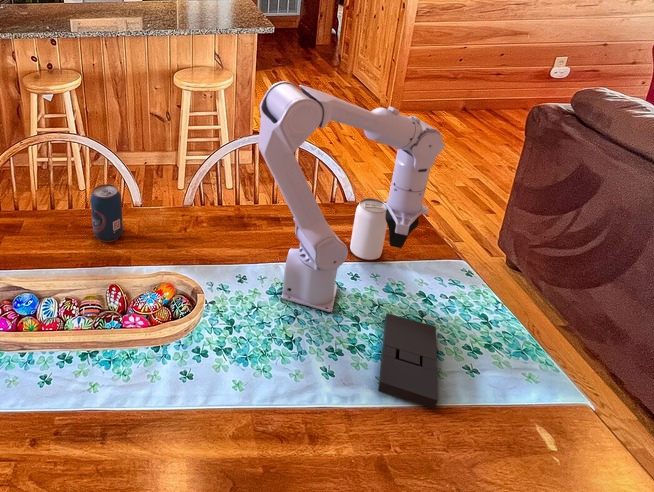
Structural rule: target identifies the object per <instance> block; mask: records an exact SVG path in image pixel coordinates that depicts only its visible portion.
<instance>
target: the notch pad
mask: <svg viewBox="0 0 654 492" xmlns="http://www.w3.org/2000/svg"><path fill="white" fill-rule="evenodd" d="M382 347H383V349H381V355H380V364H379V366H380V367H379V376H378V377H379V378H378V388H377V391H378V392H381V393H383V394H387V395H390V396H393V397H396V398H399V399H403V400H405V401H408V402H411V403H414V404H417V405H419V406H423V407H426V408H429V409H432V410H436V408H437V404H438V401H439V397H438V394H439V393H438V364H437V363H438V362H437V361H438V360H437V361H436V360H433V359H429V358H426V357H423V358H422V362H421V365H420V366H417V365H414V364H410V363H407V362H404V361H401V360H398V358H397V357H396V349H395V348H392V347H389V346H385V345H383V344H382Z"/></svg>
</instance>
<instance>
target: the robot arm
mask: <svg viewBox="0 0 654 492" xmlns="http://www.w3.org/2000/svg"><path fill="white" fill-rule="evenodd" d="M298 86H299V88H298V87H297V85H295V83H293V82H291V81H285V80H284V81H283V80H282V81H278V82H276V83H274V84H272V85H271V86H270V87H269V88H268V89H267V91H266V92H265V93H264V96H263V98H262V99H261V102H260V103H259V106H258V107H259V113H260V123H259V124H260V125H259V134H258V146H257V147H258V149H259V153H260V154H261V156H262V158H263V160H264V161H265V164H266V166H267V168H268V170H269V172H270V173H271V175H272V177H273V179H274V181H275V183H276V185H277V187H278V190H279V191H280V193H281V196H282V197H283V199H284V201H285V202H286V205H287V207H288V208H289V209H288V210H289V211H290V212H291V214H292V217H293V218H292V220H293V222H294V224H295V226H294V227H295V229H294V234H295V237H296V239H297V240H298V241H299V248H292V247H291V248H289V250H288V253H287V256H286V259H285V260H286V261H285V265H284V274H283V281H282V282H283V283H282V293H281V299H282V300H285V301H289V302H293V303H296V304H298V305H303V306H307V307H309V308H312V309H317V310H321V311H322V312H323V311H324V312H328V313H332V312H333V309H334V304H335V301H336V295H337V291H338V284H336V279H337V274H338V273H337V272H338V269H339V267H341V266H342V265H343V264H344V263H345V262H346V260H347V258H348V256H349V250H348V247H347V245H346V244H345V243H344V241H342V240H341V239H340V238H339V236H338V235H337V234H336V233H335V231H333V229H332V228H331V226H330V224H329V223H328V222H327V220H326V218H325V216H324V214H323V212H322V210H321V207H320V206H319V203H318V202H317V200H316V197H315V195H314V193H313V191H312V189H311V187H310V185H309V182H308V180H307V178H306V176H305V174H304V172H303V169H302V168H301V166H300V164H299V161H298V159H297V158H296V155H295V152H296V151H297V150H298V149H299V148H300V147H301V146H302V145H303V144H304V143H305V142H306V141H307V140H308V138H310V136H312V135H313V133H315V132H316V130H317V129H318V127H319V128H320V129H324V128H325V127H326V126H327V125H329V124H330V122H331V121H333V122H335V123H340V124H343V125H346V126H350V127H353V128H357V129H360V130H363V133H364V135H365V137H366V138H367V139H368V140H371V141H373V142H377V143H380V144H382V145H386V146H388V147H391V148H394V149H397V152H396V157H395V162H394V167H393V172H392V177H391V183H390V188H389V193H388V198H387V199H386V202H385V203H386V207H387V208H386V215H385V219H386V222H387V228H388V240H389V241H388V242H389V246H390V247H391V248H397V249H402V248H404V247H403V246H404V245H405V243H406V242H407V239H408V237H409V236H410V234H411V233H412V232H413V231H414V230H415V229H417V228H418V226H419V222H420V220H419V218H420V216H421V215H426V216H427V215H428V214H429V207H428V206H427V205H423V203H424V199H425V193H426V190H427V187H428V186H427V185H428V181H429V177H430V173H431V168H432V167H433V166H434V165H435V161H436V159H437V157H439V155H440V154H441V153H442V151H443V150H444V148H445V145H446V143H444V141H443V135H442V133H441V132H440V130H438V129H437V128H435V127H433V126H431V125H430V124H428V123H426V121H425V122H424V121H423V120H422V119H420V118H419V117H417V116H415V115H409V116H407V115H404V114H402V113H400V110H399V109H397V108H396V107H393V106H388V107H387V108H385V107H376V108H374V109H372V110H371V111H370V110H368V109H366V108H363V107H361V106H358V105H356V104H353V103H351V102H348V101H346V100H344V99H341V98H338V97H336V96H334V95H332V94H330V93H326V92H324V91H321V90H318V89H315V88H312V87H309V86H306V85H301V84H299V85H298Z"/></svg>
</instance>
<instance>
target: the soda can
mask: <svg viewBox="0 0 654 492" xmlns="http://www.w3.org/2000/svg"><path fill="white" fill-rule="evenodd" d="M122 205H123V204H122V194H121V193H120V192H119V188H118V187H117V186H116V185H114V184H109V183H106V184H104V183H103V184H100V185H97V186H95V187H94V188H93V190H92V193H91V195H90V208H91V219H92V220H91V221H92V230H93V235H94V236H95V237H96V238H97V240H98V241H101V242H102V243H103V242H104V243H111V242H114V241H117V240H118V239H120V237H121V235H122V234H123V232H124V221H123V220H124V219H123V206H122Z"/></svg>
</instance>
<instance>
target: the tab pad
mask: <svg viewBox="0 0 654 492" xmlns="http://www.w3.org/2000/svg"><path fill="white" fill-rule="evenodd" d="M383 345H385V346H389V347H392V348H395V349H396V359H397V360H401V361H404V362H407V363H410V364H414V365H417V366H420V367H421V362H422V358H423V357H426V358H429V359H433V360H436V361H438V351H437V350H438V349H437V326H436V325H432V324H429V323H425V322H421V321H417V320H415V319H411V318H406V317H404V316H403V317H402V316H400V315H395V314H392V313H388V312H386V313H385V318H384V327H383V337H382V349H383ZM382 349H381V350H382Z"/></svg>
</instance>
